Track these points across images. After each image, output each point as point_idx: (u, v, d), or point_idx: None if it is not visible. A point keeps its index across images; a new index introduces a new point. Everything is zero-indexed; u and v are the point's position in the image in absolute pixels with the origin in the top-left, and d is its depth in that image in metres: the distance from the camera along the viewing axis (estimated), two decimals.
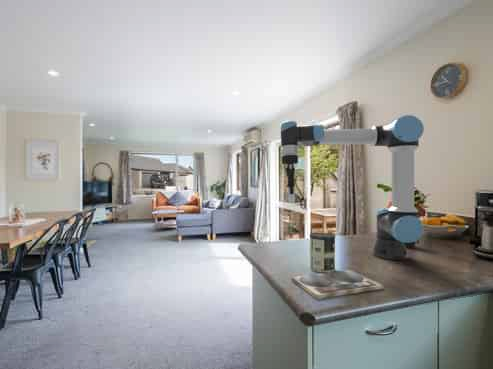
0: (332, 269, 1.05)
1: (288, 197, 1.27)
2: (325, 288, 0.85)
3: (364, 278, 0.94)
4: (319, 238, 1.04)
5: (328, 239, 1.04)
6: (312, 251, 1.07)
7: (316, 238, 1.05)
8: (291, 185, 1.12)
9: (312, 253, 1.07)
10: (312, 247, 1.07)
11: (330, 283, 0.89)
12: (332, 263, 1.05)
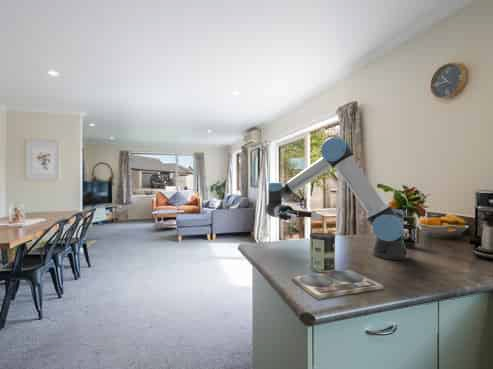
0: (332, 269, 1.05)
1: (318, 218, 1.22)
2: (325, 288, 0.85)
3: (364, 278, 0.94)
4: (319, 238, 1.04)
5: (328, 239, 1.04)
6: (312, 251, 1.07)
7: (316, 238, 1.05)
8: (282, 216, 1.21)
9: (312, 253, 1.07)
10: (312, 247, 1.07)
11: (330, 283, 0.89)
12: (332, 263, 1.05)
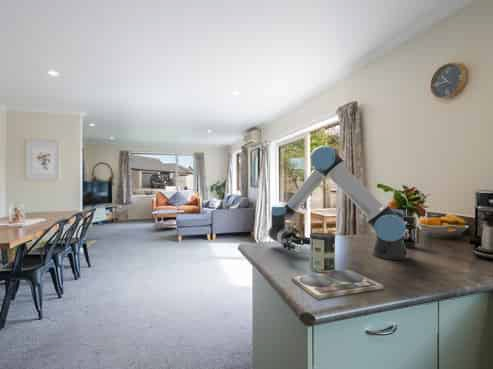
0: (332, 269, 1.05)
1: None
2: (325, 288, 0.85)
3: (364, 278, 0.94)
4: (319, 238, 1.04)
5: (328, 239, 1.04)
6: (312, 251, 1.07)
7: (316, 238, 1.05)
8: (285, 245, 1.17)
9: (312, 253, 1.07)
10: (312, 247, 1.07)
11: (330, 283, 0.89)
12: (332, 263, 1.05)
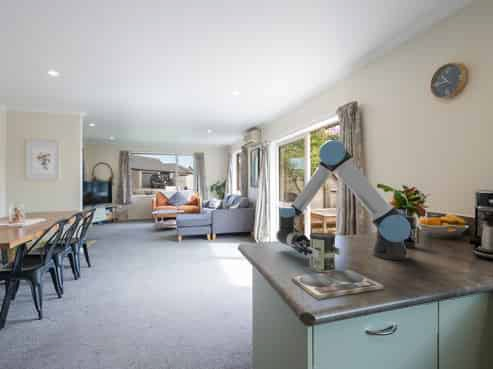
0: (332, 269, 1.05)
1: (336, 253, 1.08)
2: (325, 288, 0.85)
3: (364, 278, 0.94)
4: (319, 238, 1.04)
5: (328, 239, 1.04)
6: None
7: (316, 238, 1.05)
8: (302, 250, 1.09)
9: None
10: (312, 247, 1.07)
11: (330, 283, 0.89)
12: (332, 263, 1.05)
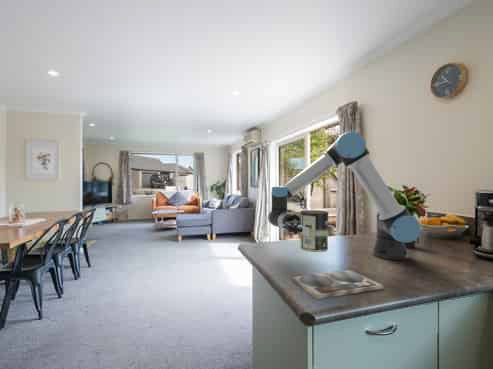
0: (324, 249, 0.95)
1: (329, 232, 0.98)
2: (325, 288, 0.85)
3: (364, 278, 0.94)
4: (310, 214, 0.94)
5: (320, 215, 0.94)
6: None
7: (307, 214, 0.95)
8: (291, 228, 0.98)
9: None
10: (302, 225, 0.97)
11: (330, 283, 0.89)
12: (324, 242, 0.95)
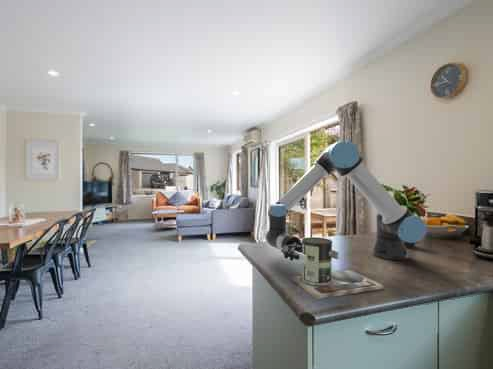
0: (328, 281, 0.88)
1: (334, 257, 0.93)
2: (325, 288, 0.85)
3: (364, 278, 0.94)
4: (313, 244, 0.88)
5: (324, 246, 0.87)
6: None
7: (309, 244, 0.88)
8: (287, 255, 0.92)
9: None
10: None
11: (330, 283, 0.89)
12: (328, 274, 0.88)
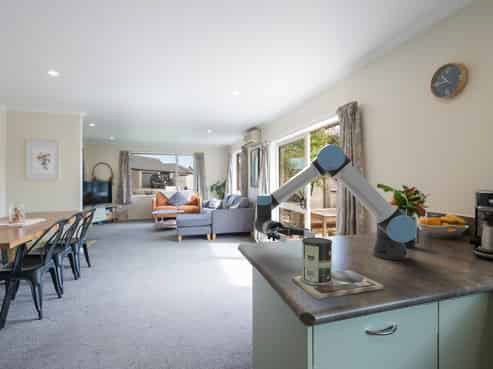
0: (328, 281, 0.88)
1: None
2: (325, 288, 0.85)
3: (364, 278, 0.94)
4: (313, 244, 0.88)
5: (323, 246, 0.87)
6: (304, 259, 0.90)
7: (309, 244, 0.88)
8: (270, 236, 1.05)
9: (304, 262, 0.90)
10: (304, 255, 0.90)
11: (330, 283, 0.89)
12: (328, 274, 0.88)
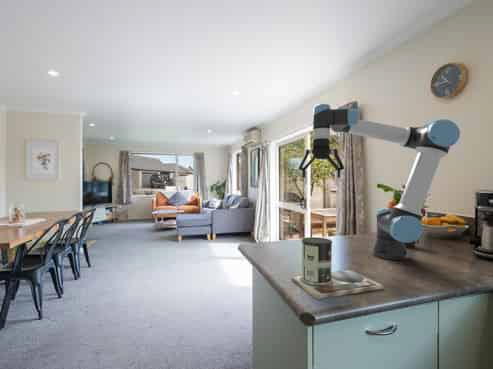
0: (328, 281, 0.88)
1: None
2: (325, 288, 0.85)
3: (364, 278, 0.94)
4: (312, 244, 0.88)
5: (323, 246, 0.87)
6: (304, 259, 0.90)
7: (309, 244, 0.88)
8: (300, 169, 1.22)
9: (304, 262, 0.90)
10: (304, 255, 0.90)
11: (330, 283, 0.89)
12: (328, 274, 0.88)
